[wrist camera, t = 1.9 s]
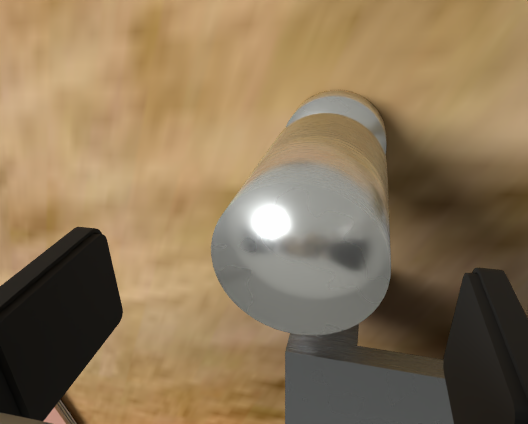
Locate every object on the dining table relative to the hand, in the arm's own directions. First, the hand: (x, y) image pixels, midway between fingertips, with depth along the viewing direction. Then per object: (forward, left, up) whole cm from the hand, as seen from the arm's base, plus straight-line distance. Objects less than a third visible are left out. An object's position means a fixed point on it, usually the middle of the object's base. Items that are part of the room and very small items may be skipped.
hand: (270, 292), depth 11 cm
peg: (-1, 0, -13) cm, 13 cm away
